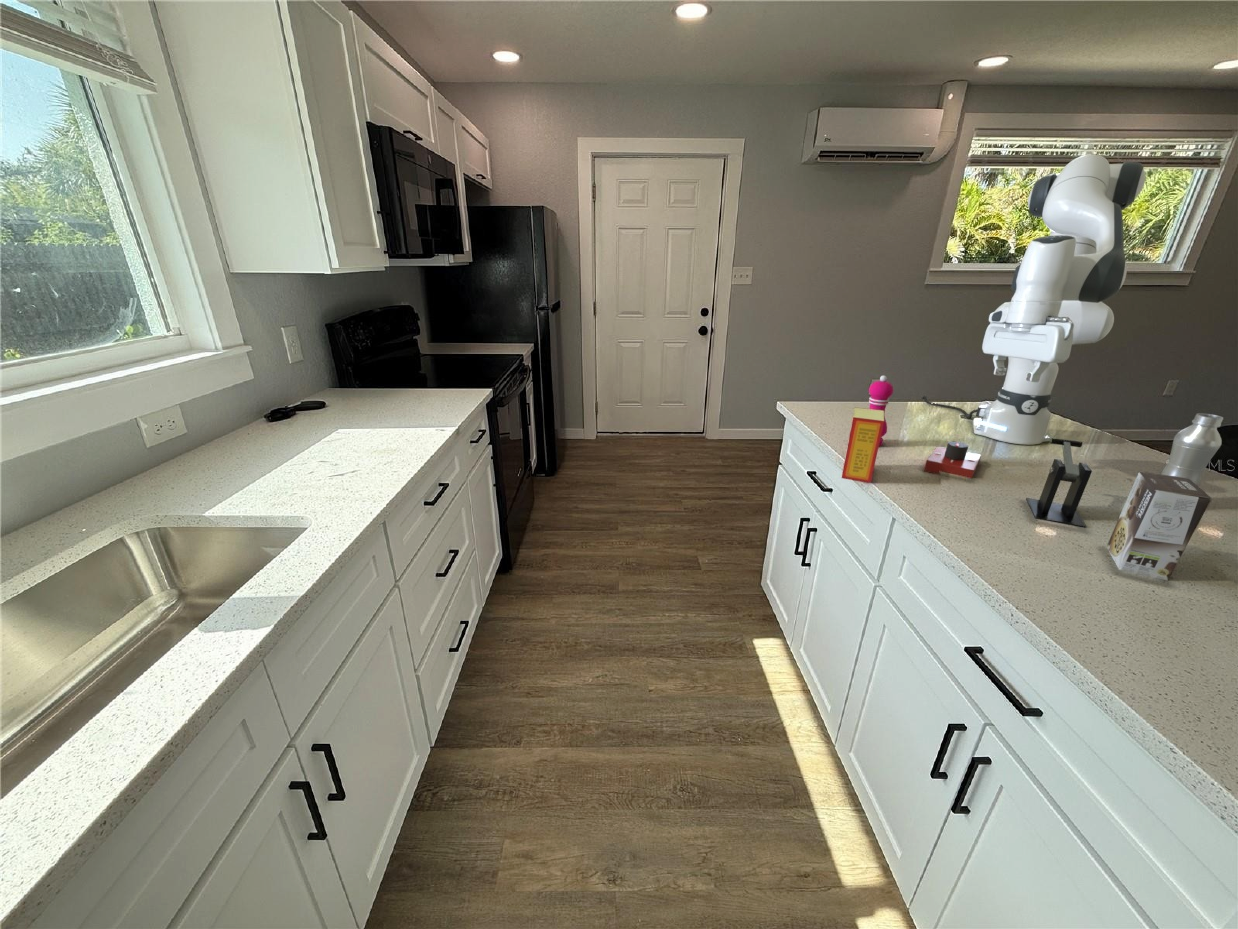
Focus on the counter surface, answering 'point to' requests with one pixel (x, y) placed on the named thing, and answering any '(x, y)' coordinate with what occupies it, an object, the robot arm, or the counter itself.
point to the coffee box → (1156, 524)
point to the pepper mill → (880, 398)
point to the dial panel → (952, 463)
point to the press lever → (1068, 459)
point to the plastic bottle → (1194, 448)
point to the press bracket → (1067, 510)
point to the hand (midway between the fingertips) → (1015, 378)
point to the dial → (956, 450)
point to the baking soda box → (863, 444)
